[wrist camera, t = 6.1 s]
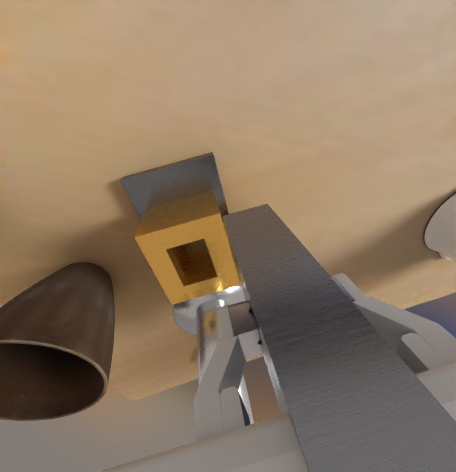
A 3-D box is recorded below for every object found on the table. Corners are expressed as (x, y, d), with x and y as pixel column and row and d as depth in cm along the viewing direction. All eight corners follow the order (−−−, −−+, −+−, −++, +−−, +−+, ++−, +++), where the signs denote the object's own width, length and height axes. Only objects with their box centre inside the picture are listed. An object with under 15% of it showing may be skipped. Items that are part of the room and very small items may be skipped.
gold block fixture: (246, 142, 29) (391, 228, 8) (269, 276, 42) (349, 438, 21) (123, 177, 28) (-36, 352, 8) (185, 301, 41) (183, 489, 21)
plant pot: (153, 293, 39) (135, 391, 26) (79, 323, 40) (24, 434, 26) (97, 226, 31) (28, 318, 18) (7, 266, 32) (-124, 382, 19)
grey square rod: (267, 203, 14) (490, 462, 4) (274, 257, 16) (424, 507, 6) (222, 216, 14) (325, 515, 4) (235, 269, 16) (322, 541, 6)
